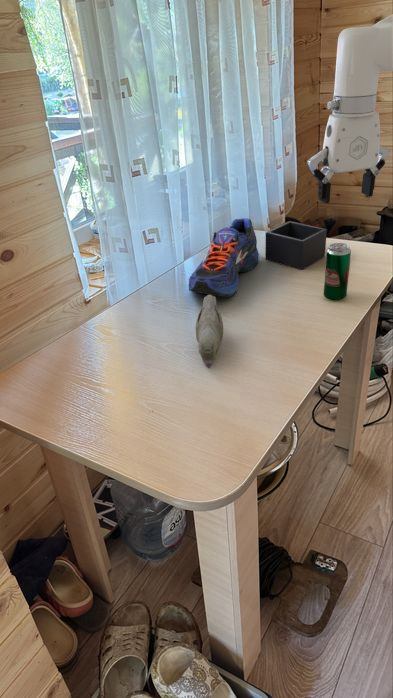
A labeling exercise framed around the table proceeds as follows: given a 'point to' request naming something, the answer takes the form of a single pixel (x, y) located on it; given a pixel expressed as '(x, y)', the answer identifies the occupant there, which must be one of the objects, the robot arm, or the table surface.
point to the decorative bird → (209, 330)
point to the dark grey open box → (295, 244)
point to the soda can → (337, 271)
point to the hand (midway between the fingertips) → (345, 198)
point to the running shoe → (226, 260)
